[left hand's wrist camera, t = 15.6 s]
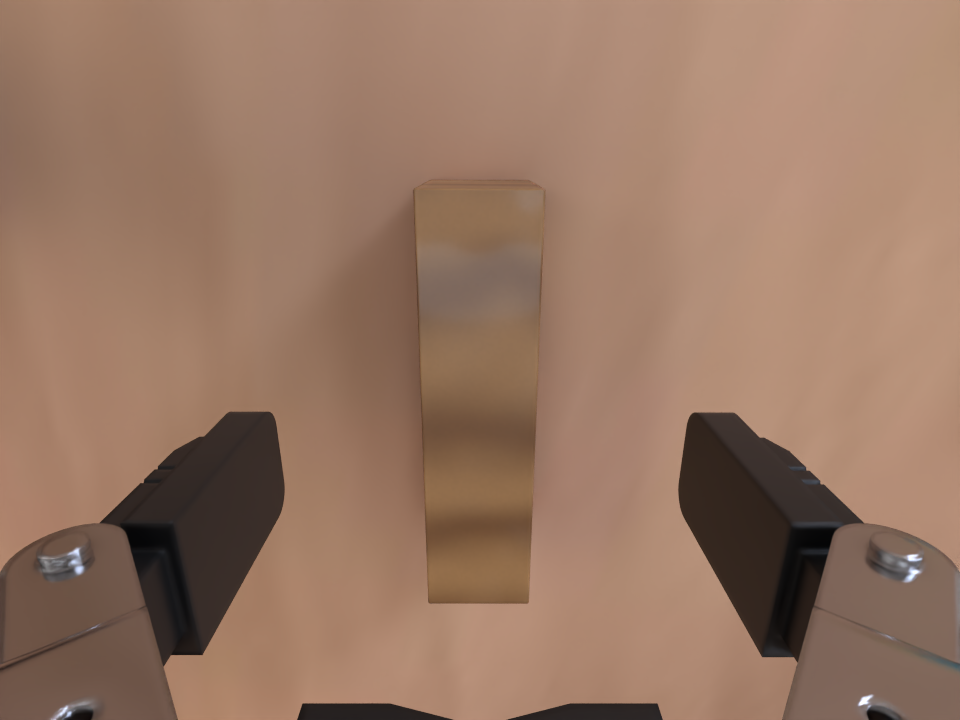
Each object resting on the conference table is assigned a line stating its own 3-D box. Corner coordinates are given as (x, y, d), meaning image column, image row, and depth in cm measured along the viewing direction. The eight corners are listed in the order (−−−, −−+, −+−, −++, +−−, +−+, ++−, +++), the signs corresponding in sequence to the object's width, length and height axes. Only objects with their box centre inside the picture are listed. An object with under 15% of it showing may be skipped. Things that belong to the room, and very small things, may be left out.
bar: (429, 179, 33) (413, 188, 25) (529, 180, 33) (545, 188, 25) (438, 516, 41) (428, 604, 33) (519, 516, 41) (528, 604, 33)
